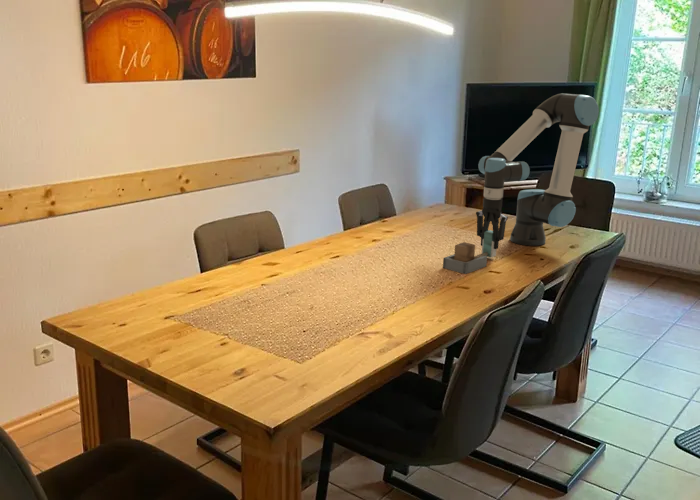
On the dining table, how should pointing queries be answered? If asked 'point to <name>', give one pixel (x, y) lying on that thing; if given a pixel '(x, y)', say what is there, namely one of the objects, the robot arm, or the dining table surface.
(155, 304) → the dining table surface
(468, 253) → the tethered block
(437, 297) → the dining table surface
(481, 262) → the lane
